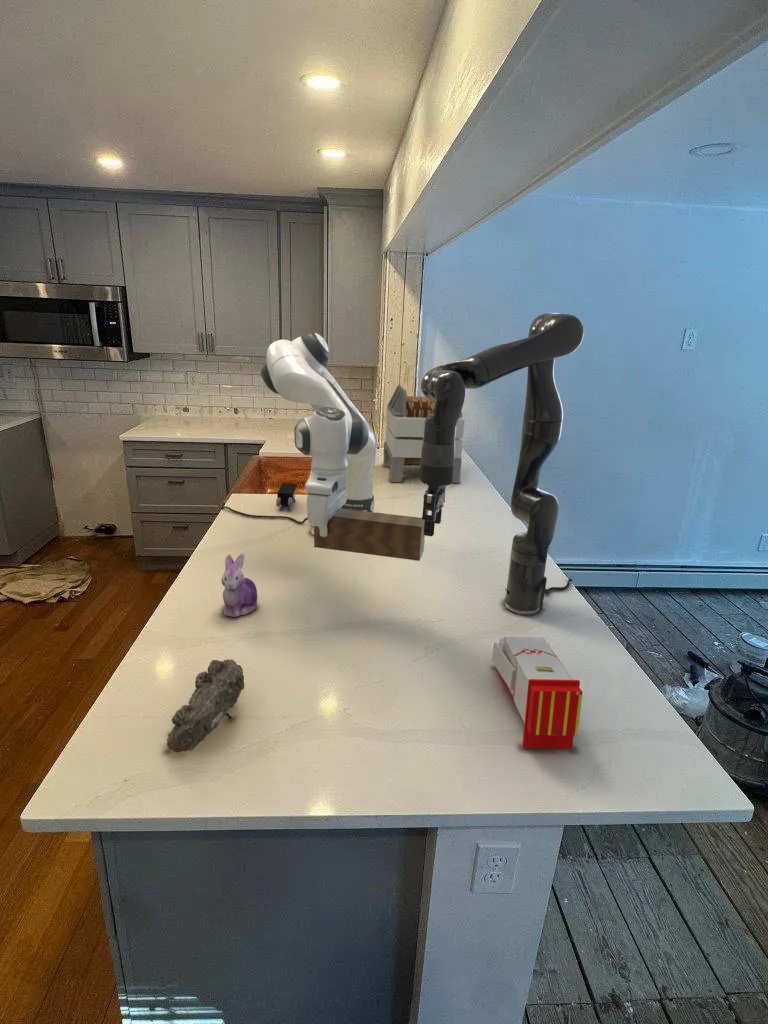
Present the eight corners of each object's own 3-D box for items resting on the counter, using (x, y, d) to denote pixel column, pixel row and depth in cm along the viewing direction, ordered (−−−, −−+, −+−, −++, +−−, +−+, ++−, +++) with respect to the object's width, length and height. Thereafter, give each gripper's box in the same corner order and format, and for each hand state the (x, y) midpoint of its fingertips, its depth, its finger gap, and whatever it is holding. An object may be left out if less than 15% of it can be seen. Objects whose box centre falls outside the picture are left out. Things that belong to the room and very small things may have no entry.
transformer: (382, 463, 289) (386, 382, 275) (445, 464, 293) (451, 384, 279) (390, 482, 257) (394, 392, 243) (460, 483, 261) (468, 394, 247)
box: (314, 547, 140) (313, 513, 137) (321, 538, 145) (321, 506, 142) (419, 561, 134) (421, 526, 131) (423, 551, 140) (425, 518, 137)
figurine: (226, 621, 140) (223, 566, 135) (217, 603, 148) (214, 550, 143) (264, 614, 144) (262, 560, 139) (253, 596, 153) (251, 545, 148)
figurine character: (293, 515, 216) (298, 499, 229) (292, 497, 212) (297, 481, 226) (275, 515, 216) (281, 498, 229) (274, 497, 212) (280, 481, 226)
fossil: (192, 660, 117) (244, 628, 112) (224, 691, 120) (276, 661, 115) (142, 746, 98) (202, 712, 93) (182, 779, 101) (242, 748, 96)
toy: (540, 620, 128) (592, 687, 99) (535, 674, 131) (584, 755, 102) (487, 619, 128) (523, 686, 99) (483, 673, 131) (517, 754, 101)
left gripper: (330, 464, 146) (329, 515, 151) (301, 487, 127) (302, 544, 132) (354, 467, 145) (352, 517, 150) (328, 490, 126) (328, 547, 131)
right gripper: (448, 471, 119) (442, 542, 124) (459, 455, 132) (453, 521, 137) (413, 467, 121) (409, 537, 126) (427, 452, 134) (423, 517, 139)
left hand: (328, 530), depth 141 cm, fingers closed on box, 6 cm apart
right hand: (432, 529), depth 132 cm, fingers open, 8 cm apart
